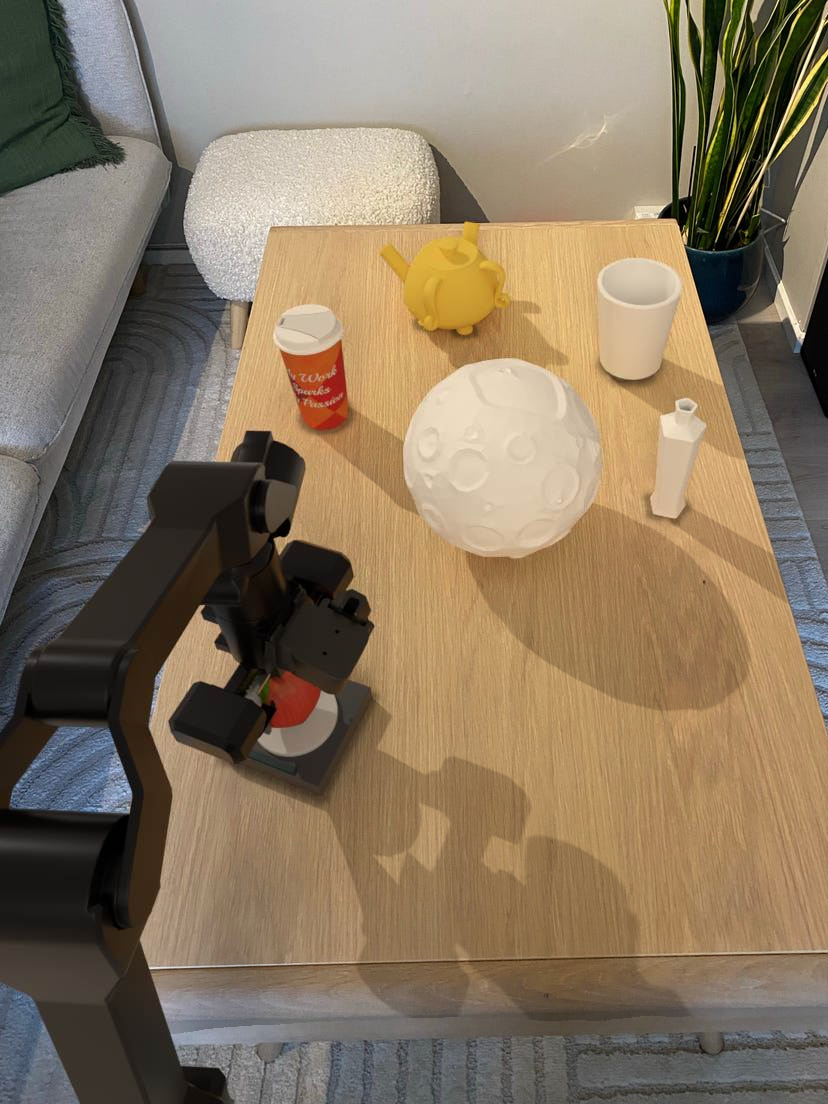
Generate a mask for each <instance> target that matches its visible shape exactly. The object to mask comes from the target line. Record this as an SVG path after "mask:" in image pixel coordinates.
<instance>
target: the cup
mask: <svg viewBox="0 0 828 1104" xmlns="http://www.w3.org/2000/svg"><path fill="white" fill-rule="evenodd" d="M596 282H597V283H596V285H597V286H596V287H597V311H598V312H597V315H598V317H597V318H598V341H599V343H598V344H599V361H600V362H599V363H600V366H601V367H602V368H603V369H604V371H606V372H607V373H608V374H610V375H611V376H612V377H613V378H614V379H615V380H616V381H617V382H621V383H622V382H627V381H635V380H636V381H637V380H640V381H648V380H650V379H651V378H652V377H653V376H654V375H655V374H656V373H657V372H658V370H660V368H661V365H662V362H663V359H664V354H665V352H666V347H667V344H668V341H669V338H670V334H671V330H672V326H673V323H674V319H675V316H676V312H677V309H678V305H679V302H680V299H681V295H682V292H683V289H684V288H683V287H684V286H683V285H684V284H683V280H682V278H681V276H680V273H678V272H677V270H675V268H673V267H672V266H670V265H668V264H666V263H664V262H661V261H658V260H656V259H651V258H647V257H646V258H645V257H629V258H622V259H619V260H616V261H613V262H611V263H609V264H608V265H605V266H604V267H603V268H602V269H600V271H599V273H598V275H597V280H596Z"/></svg>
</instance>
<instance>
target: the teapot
mask: <svg viewBox="0 0 828 1104" xmlns="http://www.w3.org/2000/svg"><path fill="white" fill-rule="evenodd" d="M479 233H480V223H477V222H470V221H464V225H463V231H462V237H455V236H448V237H447V236H446V237H439V238H436V239H434V240H431V241H429V242H427V243H426V244H425V245H424V246H422V248H421V249H420V250H419V252H418V253H417V254H416V256H415V257H414V259H413V261H412V262H411V264H410V265H409V263H408V262H407V261H406V260H405V258H404V257H403V256H402V254H400V252H399V251H398V250H397V249H396V248H395V246H394V245H393V244H392V243H391V242H390V243H388V244H387V245H385V246H384V247H383V248H382V249H380V251H379V252H378V254H379V256H380V257H381V258H382V259H383V260H384V262H385V263H386V264H387V265H388V266H389V267H390V268H391V270H392V272H393V273H394V274H395V275H396V276H397V277H398V278H399V280H400V281H401V282H402V283H403V292H402V293H403V303H404V305H405V307H406V308H407V310H408V312H409V313H410V314H411V315H412V316H413V317H415V318H416V319H417V320H418V321H417V324H418V325H419V326H421V327H423V328H424V329H425V331H427V332H433V331H435V330H437V329H440V330H441V329H442V330H456V331H455V332H457V333H458V334H459V335H469V334H472V333H473V331H474V327H473V325H476V324H478V323H479V322H481V321H482V320H484V318H486V317H488V315H489V314H490V313H492V311H494V309H495V307H496V308H498V309H505V308H507V307H509V305H510V304H511V297H510V295H509V294H508V293H506V292H503V288H504V286H505V283H506V271H505V269H504V266H502V265H501V264H500V263H499V262H496V261H494V260H491V259H488V258H487V256H486V255H485V254H484V253H483V251H481V249H480V248H479V247H478V241H479V235H480V234H479ZM497 276H498V277H497Z"/></svg>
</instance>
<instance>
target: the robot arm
mask: <svg viewBox="0 0 828 1104" xmlns="http://www.w3.org/2000/svg"><path fill="white" fill-rule="evenodd" d="M306 468H307V467H306V462H305V459H304V457H303V456H301V455H300V453H298V452H297V451H296V450H295V449H293V448H292V447H291V446H290V445H287V444H285V443H283V442H281V441H278V440H275V439H274V435H273V432H272V431H271V430H245V432H244V436H243V439H242V442H241V443H239V444H238V445H237V446H236V447H235V449H234V450H233V451H232V455H231V458H230V461H201V460H199V461H197V460H193V461H192V460H171V461H170V462H168V463H167V464H166V465H165V467H164V468H163V469H162V471H161V472H160V474H159V476H157V479H156V480H154V483H153V484H152V486H151V487H150V489H149V492H148V494H147V495H146V498H145V499H146V504H147V509H148V510H147V511H148V515H149V524H148V525H147V527H146V528H145V530H144V532H143V533H142V534H141V536H139V537H138V538H137V540H136V542H135V543H134V544H133V545H132V547H131V548H129V550H128V551H127V552H126V553H125V555H124V556H123V557H122V559H121V560H120V561H119V562H118V563H117V565H116V566H115V567H114V568H113V570H112V571H111V572H110V573H109V575H108V576H107V577H106V578H105V580H104V581H102V583H101V585H99V587H98V588H97V589H96V590H95V592H94V593H93V594H92V596H91V597H89V599H88V600H87V601H86V602H85V604H84V605H83V607H81V609H80V610H79V611H78V613H77V614H76V615H75V616H74V618H72V620H71V621H70V622H69V623H68V625H67V626H65V628H64V630H63V631H62V632H61V633H60V635H58V637H57V638H56V639H54V640H53V641H51V642H49V643H48V644H39V645H38V646H37V647H35V649H33V650H32V651H31V653H30V654H29V656H28V658H27V659H26V661H25V663H24V666H23V669H22V670H23V671H22V673H21V676H20V680H19V685H18V690H17V694H16V700H15V704H14V709H13V713H12V716H11V717H10V719H9V720H8V721H7V723H6V724H5V726H4V727H2V729H1V730H0V983H1V984H3V985H5V986H7V987H9V988H12V989H14V990H16V991H18V992H20V993H22V994H24V995H27V996H28V997H29V998H31V999H32V1001H33V1002H34V1004H35V1007H36V1009H37V1011H38V1012H39V1016H40V1018H41V1020H42V1023H43V1024H44V1027H45V1029H46V1032H47V1033H48V1036H49V1038H50V1041H51V1043H52V1044H53V1047H54V1049H55V1051H56V1053H57V1056H58V1058H59V1061H60V1062H61V1065H62V1067H63V1069H64V1071H65V1074H66V1076H67V1078H68V1080H69V1083H70V1085H71V1087H72V1089H73V1092H74V1094H75V1096H76V1098H77V1100H78V1103H79V1104H235V1099H234V1098H231V1096H230V1094H229V1088H228V1081H227V1076H226V1075H225V1073H224V1072H223V1071H222V1070H221V1069H220V1068H219V1067H213V1066H211V1067H210V1066H198V1065H197V1066H195V1065H182V1064H181V1062H180V1058H179V1055H178V1053H177V1049H176V1047H175V1043H174V1040H173V1037H172V1034H171V1031H170V1028H169V1026H168V1021H167V1019H166V1016H165V1013H164V1009H163V1006H162V1003H161V1001H160V997H159V994H158V991H157V988H156V985H155V982H154V979H153V976H152V972H151V970H150V967H149V964H148V960H147V957H146V954H145V951H144V948H143V945H142V942H141V937H142V935H143V932H144V930H145V928H146V925H147V923H148V921H149V918H150V915H151V914H152V913H153V909H154V906H155V904H156V901H157V897H158V895H159V894H160V890H161V888H162V887H161V885H162V884H161V879H162V873H163V866H164V859H165V853H166V852H165V851H166V846H167V845H166V844H167V837H168V833H169V832H168V831H169V824H170V819H171V812H172V805H173V798H174V797H173V788H172V785H171V782H170V780H169V777H168V774H167V771H166V769H165V766H164V764H163V761H162V758H161V755H160V752H159V750H158V747H157V745H156V743H155V740H154V737H153V734H152V731H151V729H150V719H151V718H150V717H151V714H152V713H151V712H152V707H153V700H154V694H155V689H156V688H155V687H156V678H157V677H158V674H159V673H160V671H161V670H162V668H163V666H164V665H165V663H166V662H167V660H168V658H169V656H170V655H171V653H172V652H173V650H174V648H175V647H176V645H177V643H179V640H180V638H181V637H182V635H183V634H184V632H185V631H186V629H187V627H188V625H189V624H190V623H191V621H192V619H193V618H194V616H195V614H196V613H197V611H198V610H199V608H200V606H203V608H202V609H201V611H200V615H201V617H202V619H203V621H207V622H210V623H212V624H215V625H217V626H218V628H219V629H220V632H219V634H218V635H217V636H216V638H215V639H214V641H213V643H214V645H215V648H216V650H219V651H220V652H224V653H226V654H227V653H228V654H230V655H231V656H232V658H233V659H234V660H235V661H236V662H237V664H238V665H237V667H236V669H235V670H234V671H233V673H232V675H231V676H230V678H229V679H228V681H227V682H226V684H225V686H224V687H220V686H218V685H216V684H213V683H211V684H209V683H208V682H205V681H201V680H199V681H195V682H193V683H192V684H191V686H190V687H189V689H188V691H187V692H186V693H185V694H184V697H183V698H182V700H181V701H180V702H179V704H178V705H177V707H176V708H175V710H174V711H173V713H172V714H171V716H170V717H169V719H168V720H167V723H168V726H169V730H170V733H171V734H172V736H173V738H174V739H175V741H176V742H177V743H179V744H181V745H185V746H187V747H189V748H192V749H194V750H197V751H200V752H201V753H204V754H207V755H210V756H212V757H215V758H217V759H219V760H222V761H224V762H227V763H229V764H231V765H238V764H239V763H240V762H243V761H245V760H246V759H247V757H248V755H249V754H250V752H251V750H252V749H253V747H254V745H255V743H256V742H257V740H258V739H259V738H260V737H261V736H262V734H263V733H265V734H267V735H270V733H271V732H272V728H271V723H270V721H271V719H272V718H273V716H274V714H275V712H276V711H277V708H275V707H272V706H269V705H267V704H264V703H262V701H261V698H260V696H259V693H260V691H261V690H262V688H263V686H264V685H265V683H266V682H267V680H268V678H269V677H270V675H273V676H276V677H278V678H282V676H283V675H284V673H285V671H288V672H291V673H292V674H293V675H295V676H297V677H299V678H301V679H303V680H305V681H306V682H308V683H310V684H312V685H314V686H316V687H318V688H319V689H320V690H321V691H323V692H325V693H327V694H331V695H333V694H338V693H339V692H341V691H342V690H343V688H344V687H345V685H346V683H347V681H348V680H350V677H351V676H352V674H353V672H354V670H355V668H356V666H357V664H358V663H359V661H360V659H361V657H362V655H363V653H364V651H365V649H366V646H367V645H368V643H369V640H370V636H371V635H372V632H373V631H374V629H375V627H376V626H375V623H373V621H371V620H370V619H369V617H370V615H371V612H372V608H371V605H370V603H369V601H368V597H367V596H366V595H364V594H363V593H361V592H359V591H357V590H356V589H353V588H349V586H350V584H351V582H352V581H353V579H354V578H355V574H354V570H353V565H352V562H351V560H350V558H349V557H348V556H347V555H345V554H344V553H343V552H341V551H339V550H335V549H332V548H329V547H325V546H323V545H319V544H316V543H313V542H309V541H307V540H303V539H293V540H292V541H289V542H287V543H286V544H285V545H284V547H283V549H282V550H281V552H280V553H279V551H278V547H277V544H276V541H275V539H277V538H287V537H288V536H289V534H290V532H291V529H292V525H293V521H294V517H295V513H296V509H297V505H298V501H299V497H300V493H301V489H302V487H303V481H304V477H305V473H306V470H307V469H306ZM348 588H349V589H348ZM256 676H258V677H256ZM254 680H255V681H254ZM251 684H252V685H251ZM248 689H250V690H248ZM59 727H64V728H65V727H69V728H91V729H92V728H93V729H95V728H96V729H108V730H109V732H110V736H111V739H112V742H113V743H114V746H115V750H116V752H117V756H118V758H119V761H120V763H121V766H122V769H123V771H124V774H125V777H126V780H127V783H128V785H129V789H130V791H131V800H130V801H131V802H130V808H129V812H109V811H108V812H107V811H88V810H87V811H85V810H66V809H65V810H63V809H42V808H19V807H15V808H14V807H10V805H11V800H12V796H13V791H14V788H15V787H16V785H17V784H18V783H19V781H20V780H21V779H22V778H23V776H24V775H25V773H26V772H27V771H28V769H29V768H30V767H31V765H32V764H33V763H34V762H35V760H36V758H37V757H38V756H39V755H40V753H41V752H42V751H43V749H44V748H45V746H47V744H48V743H49V741H50V740H51V738H53V736H54V735H55V734H56V732H57V731H58V729H59Z"/></svg>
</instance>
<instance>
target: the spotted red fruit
mask: <svg viewBox="0 0 828 1104" xmlns="http://www.w3.org/2000/svg"><path fill="white" fill-rule="evenodd" d="M256 677H258V676H256ZM254 681H255V680H254ZM251 685H252V684H251ZM248 690H250V689H248ZM320 694H321V690H320V689H319V688H318V687H316V686H314V685H312V684H310V683H308V682H306V681H305V680H303V679H301V678H299V677H297V676H295V675H293V674H292V673H291V672H288V671H285V673H284V675H283V676H282V678H278V677H276V676H273V675H270V677H269V678H268V680H267V682H266V683H265V685H264V686H263V688H262V690H261V691H260V693H259V696H260V698H261V701H262V703H264V704H267V705H269V706H272V707H275V708H277V711H276V712H275V714H274V716H273V718H272V719H271V721H270V723H271V728H287V727H293V726H297V725H301V724H302V723H304V722H305V721H306V720H307V718H308V717H309V716H310V714H311V713H312V711H313V710H314V708H315V707H316V704H317V702H318V700H319V697H320Z"/></svg>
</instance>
